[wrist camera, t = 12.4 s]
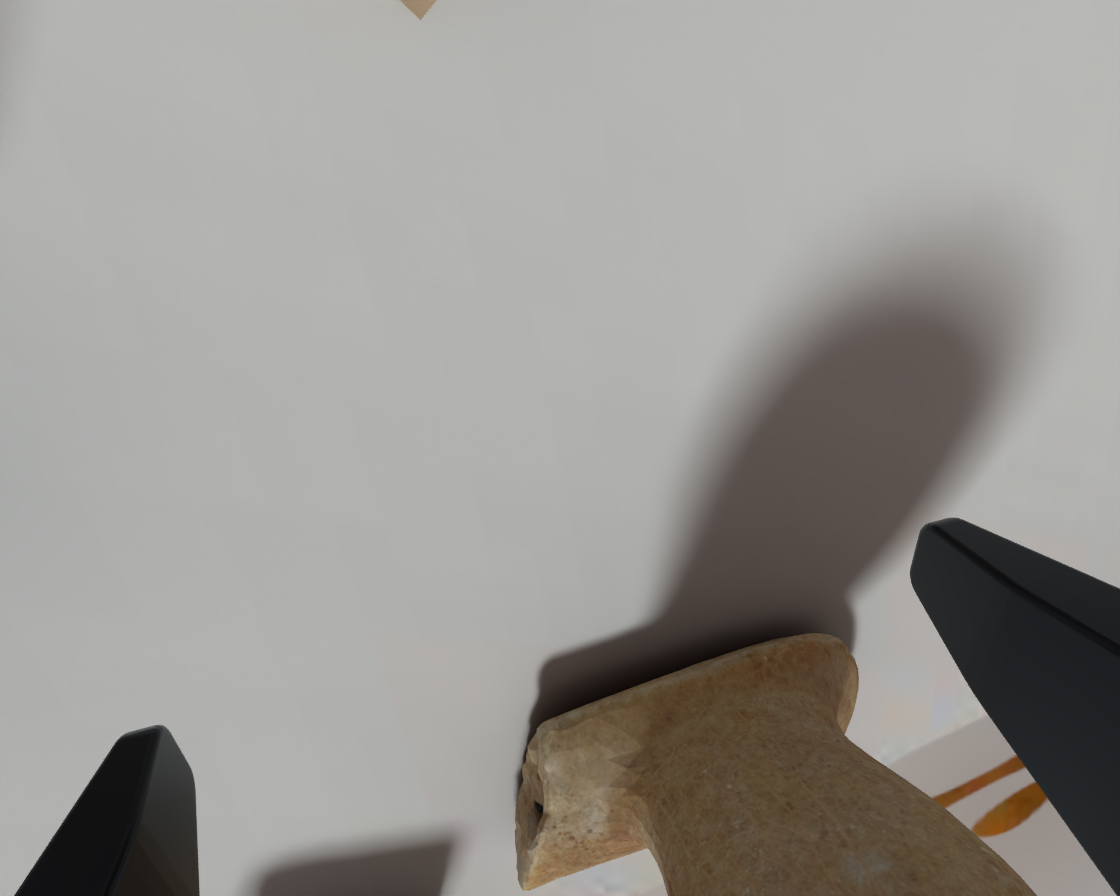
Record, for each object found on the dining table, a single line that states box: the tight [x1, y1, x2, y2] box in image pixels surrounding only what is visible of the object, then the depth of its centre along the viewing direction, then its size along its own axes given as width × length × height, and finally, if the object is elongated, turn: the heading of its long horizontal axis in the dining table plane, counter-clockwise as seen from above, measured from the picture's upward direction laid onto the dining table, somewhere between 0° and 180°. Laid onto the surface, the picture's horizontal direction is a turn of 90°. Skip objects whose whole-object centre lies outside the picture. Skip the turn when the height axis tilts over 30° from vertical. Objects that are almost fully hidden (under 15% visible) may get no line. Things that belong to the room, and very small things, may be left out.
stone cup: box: [515, 633, 1037, 896], centre depth 28 cm, size 15×12×15 cm
